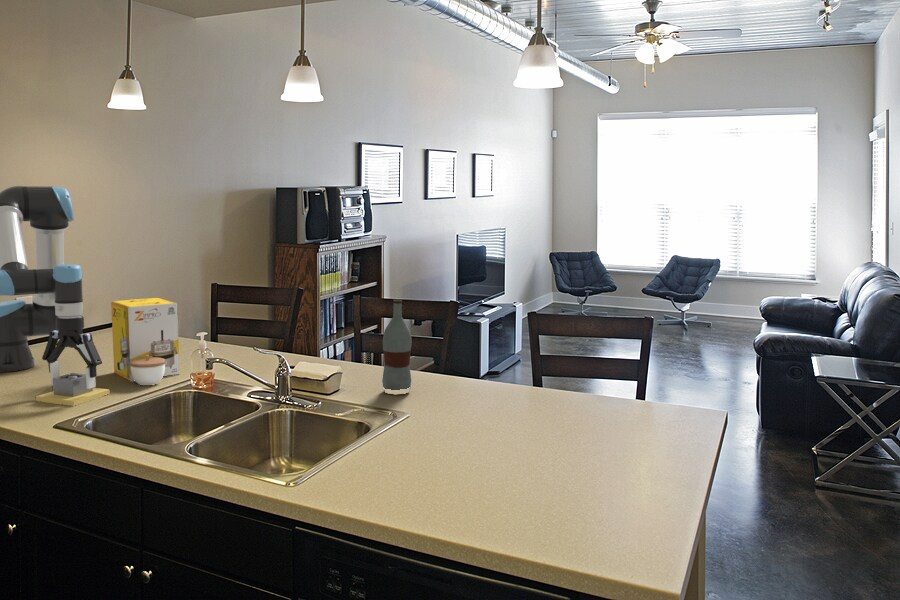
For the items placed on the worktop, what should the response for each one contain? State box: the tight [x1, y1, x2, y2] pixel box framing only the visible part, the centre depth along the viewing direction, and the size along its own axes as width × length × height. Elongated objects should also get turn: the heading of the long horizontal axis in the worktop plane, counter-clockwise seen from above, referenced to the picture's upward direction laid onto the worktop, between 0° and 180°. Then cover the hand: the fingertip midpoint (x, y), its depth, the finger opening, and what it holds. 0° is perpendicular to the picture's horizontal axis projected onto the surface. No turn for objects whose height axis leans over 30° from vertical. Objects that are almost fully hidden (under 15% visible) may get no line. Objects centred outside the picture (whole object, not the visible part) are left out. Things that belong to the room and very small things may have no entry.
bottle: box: [381, 299, 412, 390], centre depth 236 cm, size 9×9×30 cm
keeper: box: [35, 376, 111, 407], centre depth 224 cm, size 14×14×6 cm
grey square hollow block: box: [52, 372, 94, 397], centre depth 224 cm, size 8×8×5 cm
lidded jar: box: [130, 355, 165, 386], centre depth 242 cm, size 11×11×9 cm
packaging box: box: [110, 297, 180, 382], centre depth 254 cm, size 16×16×25 cm
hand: (73, 385), depth 224 cm, fingers open, 13 cm apart
